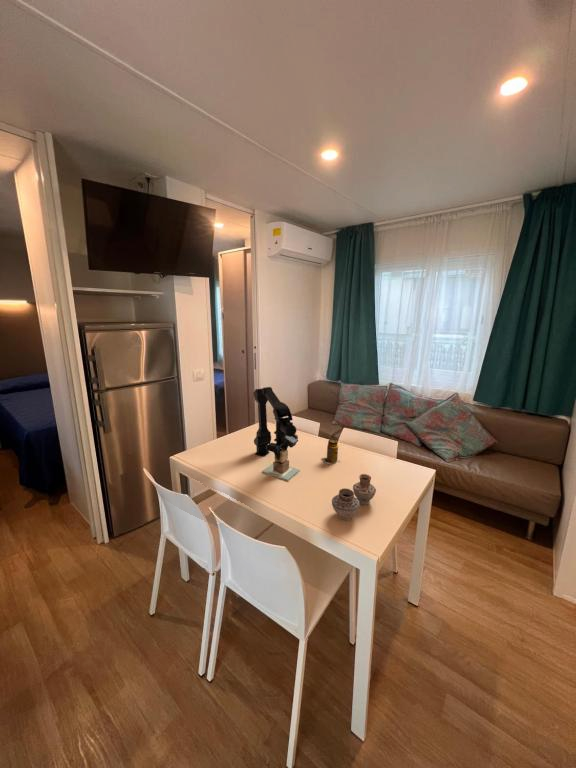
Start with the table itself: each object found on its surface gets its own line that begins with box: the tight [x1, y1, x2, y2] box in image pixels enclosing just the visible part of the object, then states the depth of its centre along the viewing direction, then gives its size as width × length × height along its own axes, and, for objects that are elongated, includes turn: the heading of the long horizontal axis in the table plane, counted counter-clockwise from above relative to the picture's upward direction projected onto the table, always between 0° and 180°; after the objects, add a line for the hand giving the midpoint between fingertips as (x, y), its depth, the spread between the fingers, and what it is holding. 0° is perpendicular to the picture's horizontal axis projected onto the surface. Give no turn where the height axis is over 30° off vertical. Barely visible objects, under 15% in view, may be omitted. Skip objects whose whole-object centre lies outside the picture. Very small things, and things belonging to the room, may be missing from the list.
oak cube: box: [274, 448, 289, 463], centre depth 156 cm, size 5×5×5 cm
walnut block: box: [272, 459, 290, 474], centre depth 157 cm, size 6×6×5 cm
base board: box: [261, 463, 301, 482], centre depth 158 cm, size 16×12×1 cm
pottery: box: [331, 473, 377, 521], centre depth 127 cm, size 11×25×12 cm, turn 136°
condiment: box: [321, 438, 341, 465], centre depth 170 cm, size 7×8×12 cm
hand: (281, 457), depth 156 cm, fingers closed on oak cube, 5 cm apart
